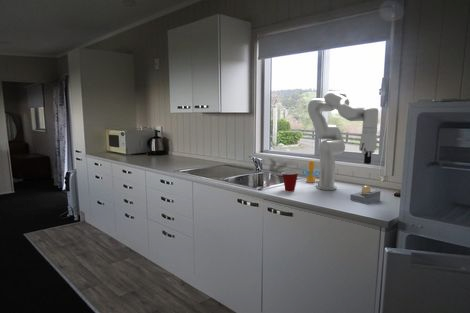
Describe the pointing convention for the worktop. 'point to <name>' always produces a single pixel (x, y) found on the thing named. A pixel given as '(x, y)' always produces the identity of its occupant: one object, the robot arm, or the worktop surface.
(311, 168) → the toy airplane
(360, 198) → the jig
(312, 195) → the worktop surface
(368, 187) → the bushing
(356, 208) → the worktop surface
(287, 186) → the plastic cup
